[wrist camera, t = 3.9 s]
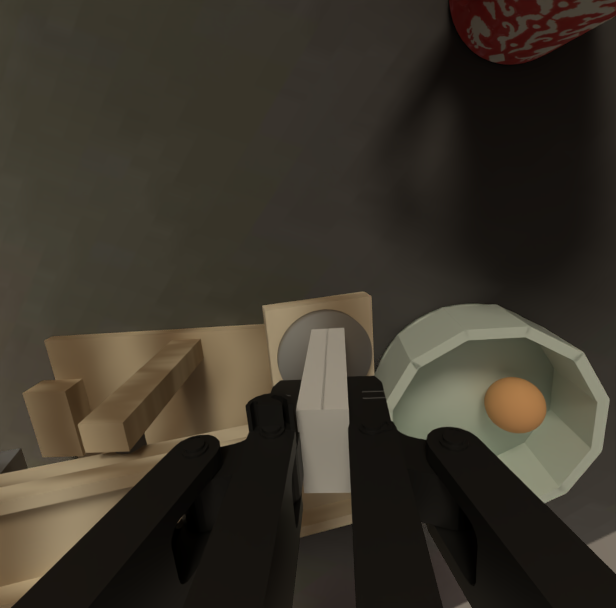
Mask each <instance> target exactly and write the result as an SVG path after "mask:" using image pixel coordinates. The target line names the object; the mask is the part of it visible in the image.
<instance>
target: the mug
mask: <svg viewBox="0 0 616 608" xmlns="http://www.w3.org/2000/svg"><path fill="white" fill-rule="evenodd" d="M449 4H450V11H451V15H452V19H453V23H454V25H455V28H456V30H457V32H458V34H459V36H460V37H461V39H462V40H463V42H464V43H465V44H466V45H467V46H468V47H469V48H470V49H471V50H472V51H473V52H474V53H475V54H477V55H478V56H480V57H482V58H483V59H486V60H488V61H491V62H495V63H498V64H510V65H512V64H521V63H526V62H529V61H532V60H535V59H537V58H539V57H542V56H544V55H546V54H548V53H550V52H552V51H553V50H555V49H557V48H559V47H561V46H562V45H564V44H566V43H568V42H569V41H571V40H573V39H575V38H577V37H579V36H581V35H582V34H584V33H586V32H588V31H590V30H591V29H593V28H595V27H597V26H599V25H601V24H602V23H604V22H606V21H608V20H610V19H612V18H614V17H615V16H616V0H449Z"/></svg>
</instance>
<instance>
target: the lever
mask: <svg viewBox="0 0 616 608" xmlns="http://www.w3.org/2000/svg"><path fill="white" fill-rule="evenodd" d="M262 308H263V316H264V324H265V333H266V341H267V350H268V358H269V366H270V375H271V383H272V387H273V386H274V385H276V384H277V383H278V382H279V381H280V380H302V376H303V371H304V366H305V361H306V356H307V351H308V345H309V340H310V335H311V330H312V329H329V328H344V332H345V349H346V366H347V377H352V376H374V352H373V325H372V299H371V296H370V295H369V294H367V293H365V292H356V293H349V294H342V295H335V296H328V297H320V298H313V299H306V300H299V301H292V302H285V303H277V304H270V305H263V306H262ZM248 433H249V428H248V425H243V426H238V427H233V428H228V429H223V430H218V431H213V432H208V433H203V434H198V435H211V436H214V437H216V438H217V439H218V440H219V441H220V447H222V446H227V445H231V444H235V443H238V442H241V441H243V440H245V439H246V438H247V435H248ZM193 436H196V435H193ZM189 437H192V436H188V437H183V438H178V439H173V440H168V441H163V442H159V443H154V444H149V445H147V442H146V438H145V433H144V434H143V435H142V436H141V438H140V439H139V440H138V441H137V443H136V444H135V445H134V446H133V448H132V449H131V450H130V451H125V452H109V453H104V454H99V455H94V456H89V457H84V458H79V459H74V460H69V461H64V462H59V463H54V464H49V465H44V466H39V467H34V468H29V469H28V468H27V465H26V462H25V459H24V456H23V453H22V450H21V448H19V449H13V450H8V451H3V452H0V608H11V607H12V606H13V605H14V604H15V603H16V602H17V601H18V600H19V599H20V598H21V597H22V596H23V595H24V594H25V593H26V592H27V591H28V590H29V589H30V588H31V587H32V586H33V585H34V584H35V583H36V582H37V581H38V580H39V579H40V578H41V577H43V576H44V575H45V574H46V573H47V572H48V571H49V570H50V569H51V568H52V567H53V566H54V565H55V564H56V563H57V562H58V561H59V560H60V559H61V558H62V557H63V556H64V555H65V554H66V553H67V552H68V551H69V550H70V549H71V548H72V547H73V546H74V545H75V544H76V543H77V542H78V541H79V540H80V539H81V538H82V537H83V536H84V535H85V534H86V533H87V532H88V531H89V530H90V529H91V528H92V527H93V526H94V525H95V524H96V523H97V522H98V521H99V520H100V519H101V518H102V517H103V516H104V515H105V514H106V513H107V512H108V511H109V510H110V509H111V508H112V507H113V506H115V505H116V504H117V503H118V502H119V501H120V500H121V499H122V498H123V497H124V496H125V495H126V494H127V493H128V492H129V491H130V490H131V489H132V488H133V487H134V486H135V485H136V484H137V483H138V482H139V481H140V480H141V479H142V478H143V477H144V476H145V475H146V474H147V473H148V472H149V471H150V470H151V469H152V468H153V467H154V466H155V465H156V464H157V463H158V462H159V461H160V460H161V459H162V458H163V457H164V456H165V455H166V454H167V453H168V452H169V451H170V450H171V449H172V448H173V447H174V446H176V445H177V444H178V443H180V442H181V441H183V440H185V439H187V438H189ZM302 501H303V514H302V523H301V532H300V537H304V536H308V535H312V534H315V533H319V532H323V531H327V530H330V529H334V528H338V527H342V526H345V525H349V524H352V507H351V493H304V486H302ZM179 521H180V520H179Z"/></svg>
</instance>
